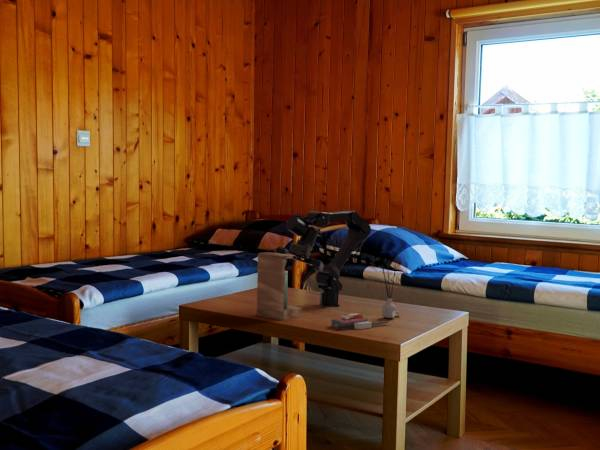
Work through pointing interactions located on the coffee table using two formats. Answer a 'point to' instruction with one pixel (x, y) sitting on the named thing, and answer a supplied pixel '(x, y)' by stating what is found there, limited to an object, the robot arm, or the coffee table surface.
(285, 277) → the tea tin
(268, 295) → the nook
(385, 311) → the reed diffuser
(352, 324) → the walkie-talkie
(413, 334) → the coffee table surface
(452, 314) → the coffee table surface
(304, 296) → the coffee table surface
